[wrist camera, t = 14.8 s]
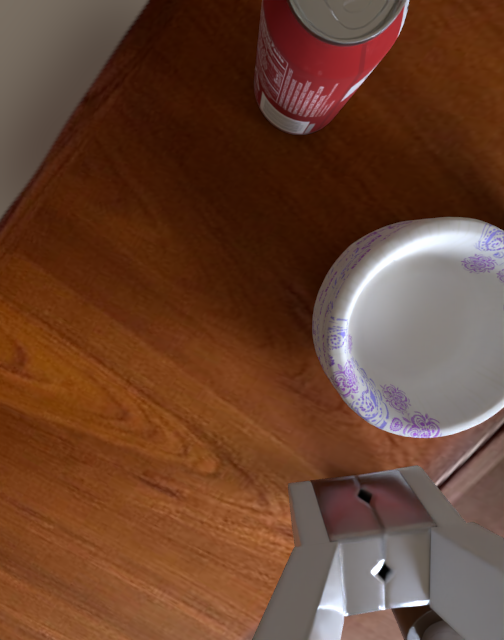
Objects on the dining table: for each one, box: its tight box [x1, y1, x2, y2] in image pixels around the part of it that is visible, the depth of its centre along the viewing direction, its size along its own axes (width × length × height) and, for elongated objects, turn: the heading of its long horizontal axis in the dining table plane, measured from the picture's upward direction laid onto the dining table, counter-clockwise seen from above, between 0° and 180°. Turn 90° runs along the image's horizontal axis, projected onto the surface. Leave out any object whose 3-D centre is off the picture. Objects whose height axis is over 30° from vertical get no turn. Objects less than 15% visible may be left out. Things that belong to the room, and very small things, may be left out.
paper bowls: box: [312, 217, 504, 438], centre depth 26 cm, size 15×15×8 cm
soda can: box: [254, 0, 409, 135], centre depth 20 cm, size 7×7×12 cm
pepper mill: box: [392, 604, 465, 640], centre depth 28 cm, size 5×5×14 cm
